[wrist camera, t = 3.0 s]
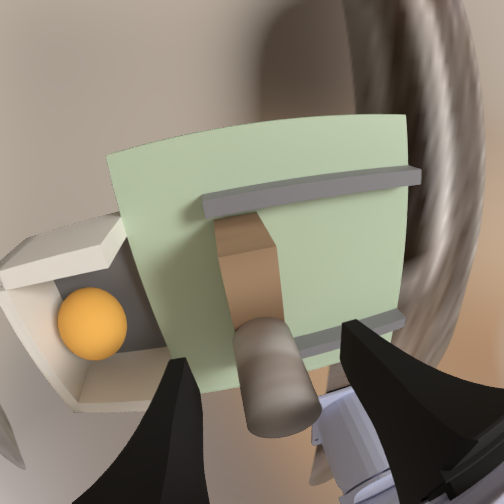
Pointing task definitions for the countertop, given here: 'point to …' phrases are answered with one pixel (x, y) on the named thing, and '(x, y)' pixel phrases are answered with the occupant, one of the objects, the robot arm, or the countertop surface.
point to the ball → (92, 323)
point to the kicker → (263, 331)
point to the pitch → (206, 258)
